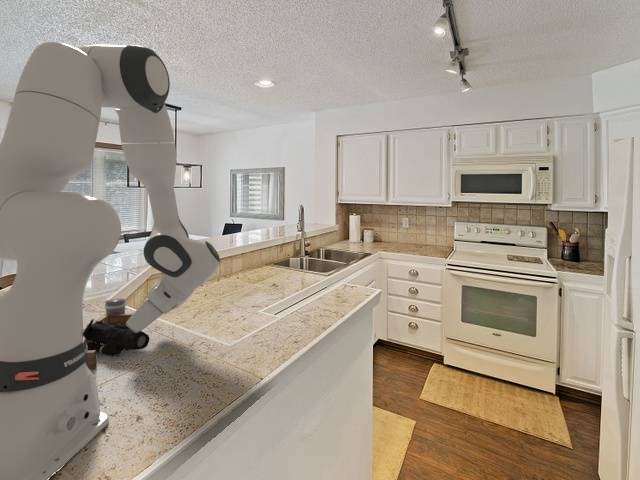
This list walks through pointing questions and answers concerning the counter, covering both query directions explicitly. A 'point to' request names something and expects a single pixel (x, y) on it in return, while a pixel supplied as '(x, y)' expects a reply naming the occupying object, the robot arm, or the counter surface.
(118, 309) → the gray domed cylinder
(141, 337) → the night vision scope
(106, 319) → the bracket
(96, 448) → the counter surface
